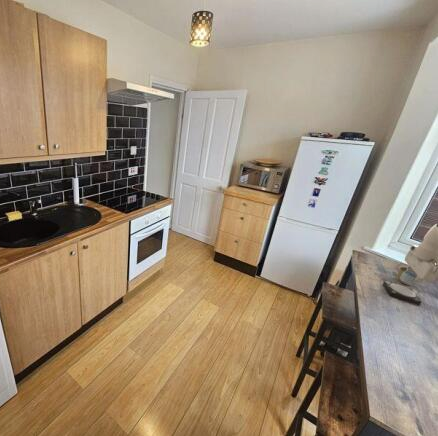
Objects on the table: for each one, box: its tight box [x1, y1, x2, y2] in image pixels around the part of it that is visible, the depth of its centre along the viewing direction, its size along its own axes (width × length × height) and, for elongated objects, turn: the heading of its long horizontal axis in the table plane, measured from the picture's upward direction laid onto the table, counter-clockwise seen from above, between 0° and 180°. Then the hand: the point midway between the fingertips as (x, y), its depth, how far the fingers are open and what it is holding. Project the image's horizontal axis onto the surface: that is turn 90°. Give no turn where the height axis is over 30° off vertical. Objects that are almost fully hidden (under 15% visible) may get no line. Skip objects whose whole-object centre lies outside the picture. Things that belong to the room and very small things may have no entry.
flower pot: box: [396, 266, 415, 286], centre depth 127 cm, size 10×10×7 cm
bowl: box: [400, 271, 423, 287], centre depth 114 cm, size 7×7×4 cm
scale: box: [382, 280, 423, 306], centre depth 118 cm, size 11×11×3 cm
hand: (411, 278), depth 114 cm, fingers closed on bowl, 7 cm apart
